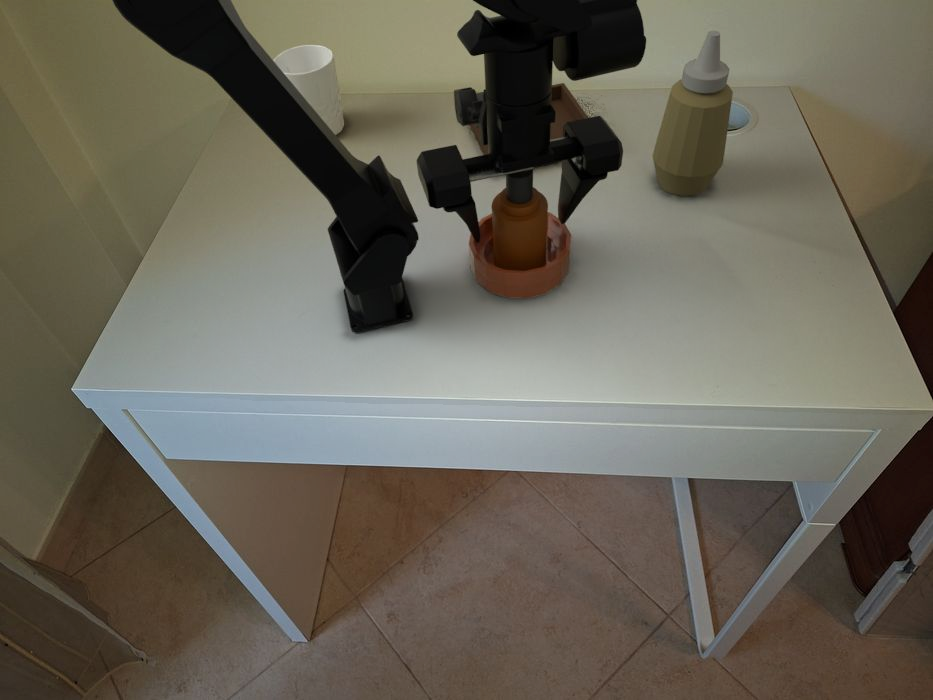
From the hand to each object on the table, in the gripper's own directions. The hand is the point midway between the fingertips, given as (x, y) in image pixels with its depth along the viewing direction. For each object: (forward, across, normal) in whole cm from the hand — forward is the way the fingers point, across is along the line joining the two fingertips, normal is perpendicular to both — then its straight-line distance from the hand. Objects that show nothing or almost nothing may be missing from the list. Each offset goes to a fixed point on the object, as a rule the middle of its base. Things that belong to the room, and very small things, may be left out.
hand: (519, 230), depth 70 cm
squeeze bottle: (+5, -23, -8) cm, 25 cm away
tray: (+5, -9, -24) cm, 26 cm away
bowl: (+5, 0, 0) cm, 5 cm away
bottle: (+5, 0, 0) cm, 5 cm away
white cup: (+5, +18, -36) cm, 41 cm away
